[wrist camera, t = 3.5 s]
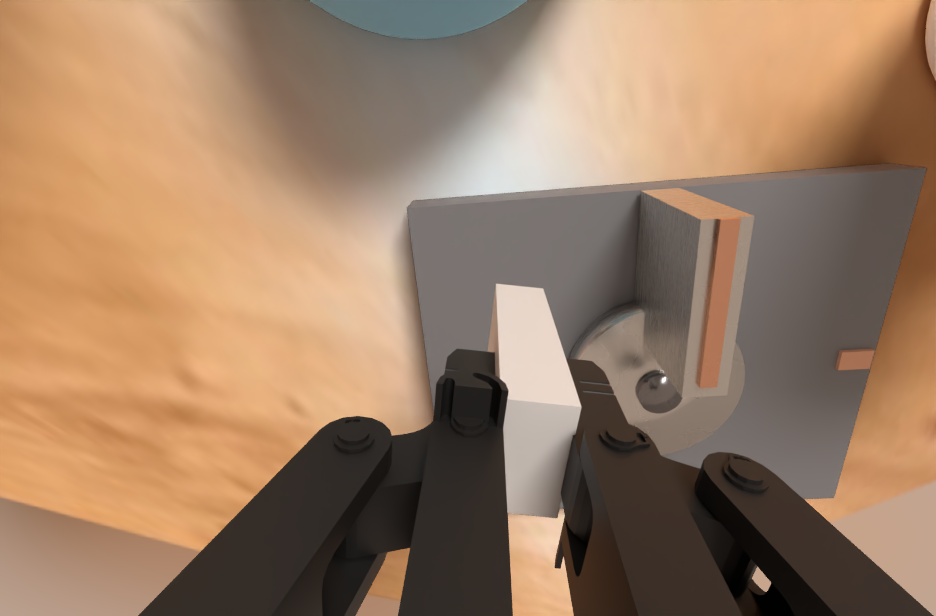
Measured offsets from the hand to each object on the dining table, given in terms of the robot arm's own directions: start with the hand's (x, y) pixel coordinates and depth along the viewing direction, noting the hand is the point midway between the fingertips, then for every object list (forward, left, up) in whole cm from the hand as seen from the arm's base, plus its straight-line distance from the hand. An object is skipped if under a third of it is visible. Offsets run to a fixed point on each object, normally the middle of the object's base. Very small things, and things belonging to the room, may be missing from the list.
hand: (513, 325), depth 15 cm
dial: (+7, -4, -7) cm, 10 cm away
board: (+7, -6, -9) cm, 13 cm away
